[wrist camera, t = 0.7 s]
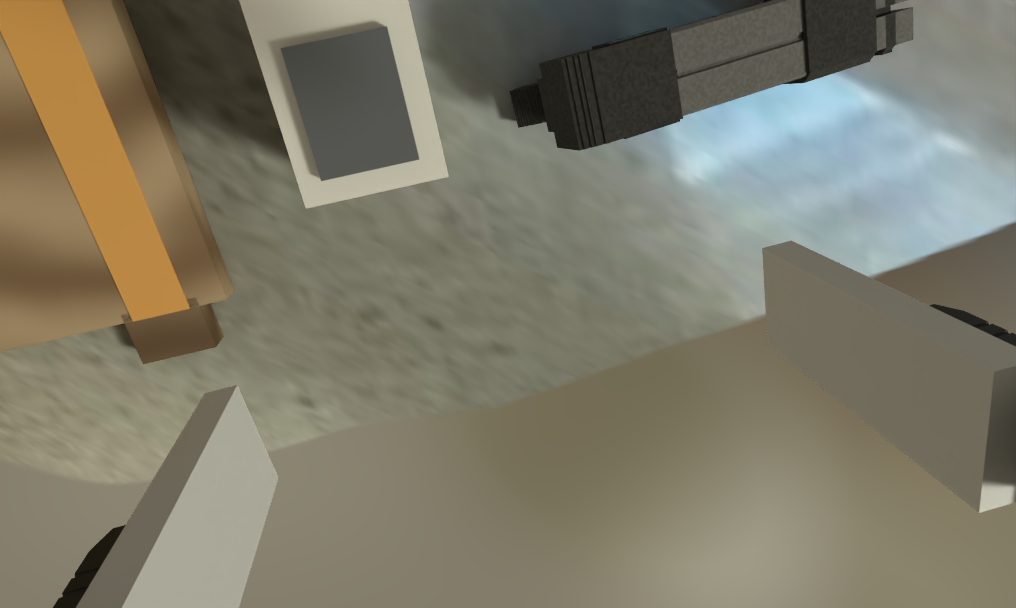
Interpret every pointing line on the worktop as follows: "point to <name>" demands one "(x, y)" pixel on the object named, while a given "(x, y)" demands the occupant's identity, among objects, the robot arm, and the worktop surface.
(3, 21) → the subfloor panel
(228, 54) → the worktop surface
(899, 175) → the worktop surface
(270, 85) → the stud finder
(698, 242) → the worktop surface
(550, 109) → the gun
